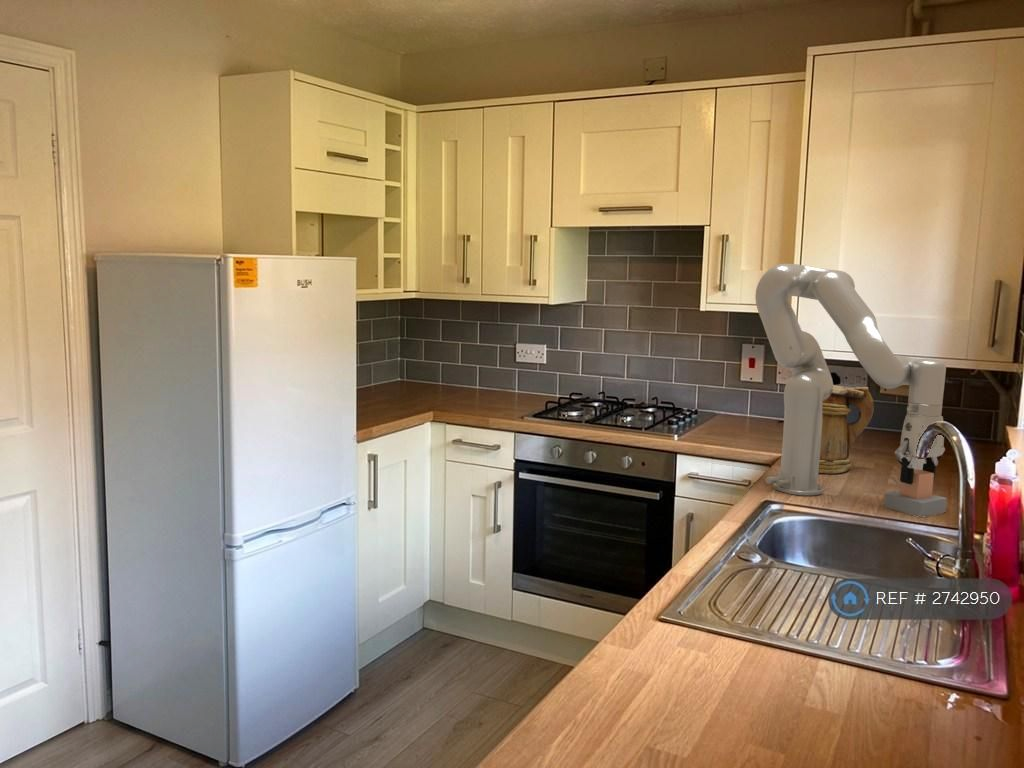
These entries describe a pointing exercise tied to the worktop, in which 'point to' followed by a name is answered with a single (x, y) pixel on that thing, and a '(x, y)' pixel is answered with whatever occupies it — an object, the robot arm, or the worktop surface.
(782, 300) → the robot arm
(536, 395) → the worktop surface
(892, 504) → the slate block
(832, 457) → the tankard
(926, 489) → the terracotta block
